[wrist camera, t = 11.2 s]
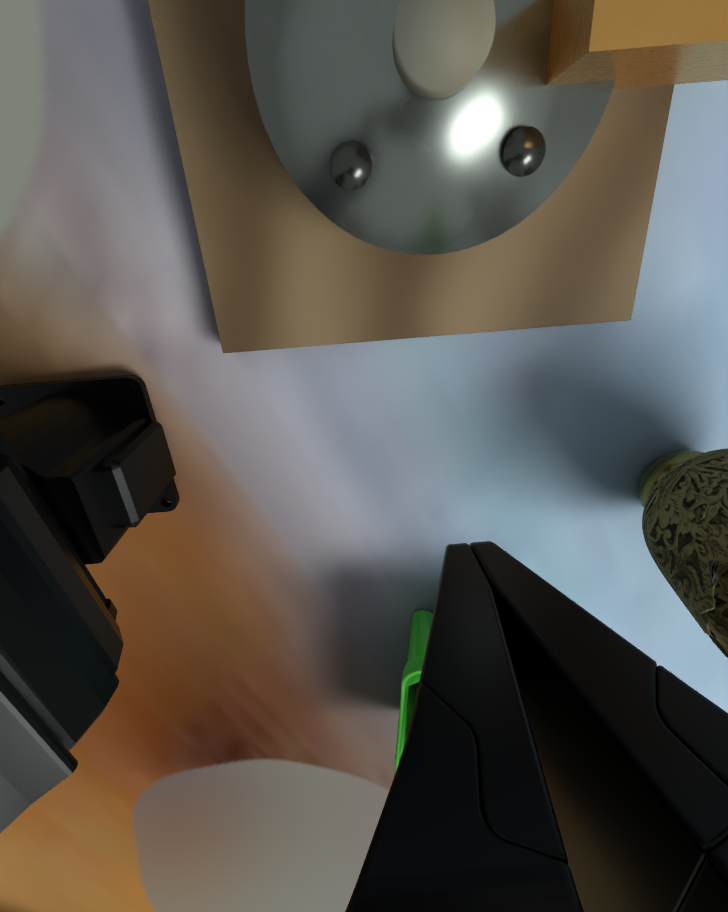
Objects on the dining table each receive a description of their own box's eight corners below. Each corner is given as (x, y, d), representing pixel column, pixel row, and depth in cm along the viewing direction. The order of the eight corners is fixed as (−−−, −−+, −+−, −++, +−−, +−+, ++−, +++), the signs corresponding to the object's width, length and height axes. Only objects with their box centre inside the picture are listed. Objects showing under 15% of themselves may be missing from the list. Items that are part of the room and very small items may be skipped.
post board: (229, 347, 18) (194, 379, 14) (111, -222, 12) (-17, -471, 8) (617, 316, 18) (695, 338, 14) (717, -275, 12) (920, -560, 8)
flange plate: (282, 265, 15) (264, 272, 12) (216, -196, 10) (162, -375, 7) (716, 230, 15) (812, 228, 12) (835, -249, 10) (1038, -454, 7)
